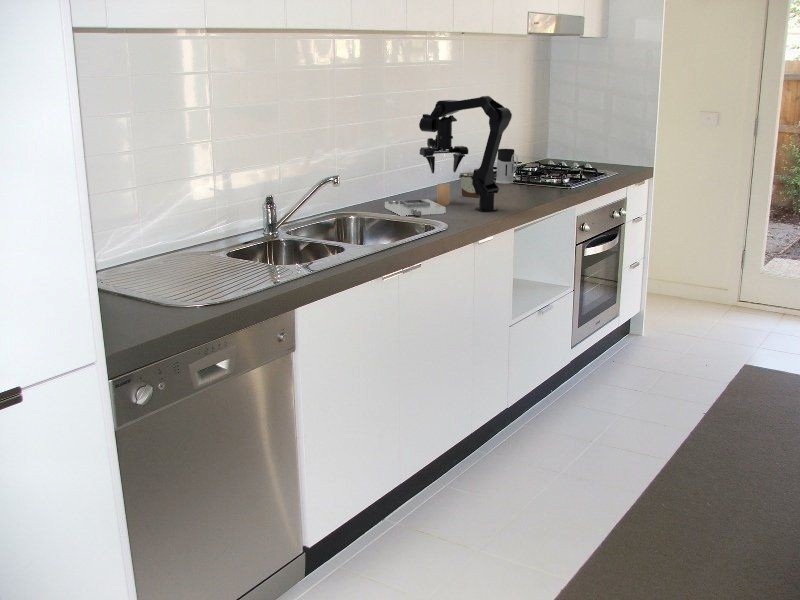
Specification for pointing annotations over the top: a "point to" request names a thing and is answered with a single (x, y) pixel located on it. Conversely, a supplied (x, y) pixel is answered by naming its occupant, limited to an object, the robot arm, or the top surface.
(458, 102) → the robot arm
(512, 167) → the grey jug
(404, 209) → the gearbox housing
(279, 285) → the top surface
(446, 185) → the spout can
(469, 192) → the food container
